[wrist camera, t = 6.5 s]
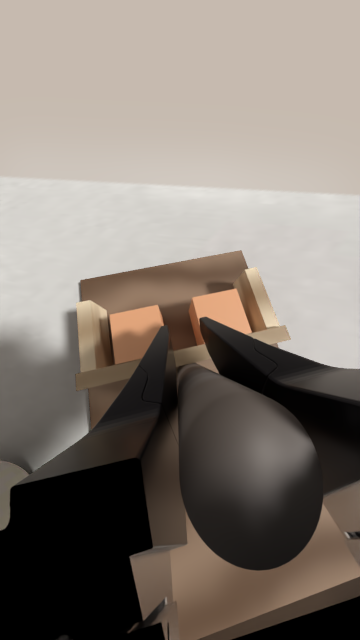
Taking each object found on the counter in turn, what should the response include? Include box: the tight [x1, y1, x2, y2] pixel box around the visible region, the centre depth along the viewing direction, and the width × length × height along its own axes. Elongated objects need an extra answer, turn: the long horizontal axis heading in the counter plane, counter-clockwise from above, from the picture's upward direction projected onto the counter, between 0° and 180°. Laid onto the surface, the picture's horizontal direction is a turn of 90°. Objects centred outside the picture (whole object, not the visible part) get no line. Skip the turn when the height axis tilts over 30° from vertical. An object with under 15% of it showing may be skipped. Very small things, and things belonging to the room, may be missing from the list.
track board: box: [80, 250, 360, 640], centre depth 14 cm, size 31×20×1 cm, turn 13°
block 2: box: [189, 288, 252, 346], centre depth 14 cm, size 4×4×4 cm
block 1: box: [110, 305, 164, 364], centre depth 13 cm, size 4×4×4 cm
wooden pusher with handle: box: [75, 267, 323, 571], centre depth 9 cm, size 10×18×12 cm, turn 103°
